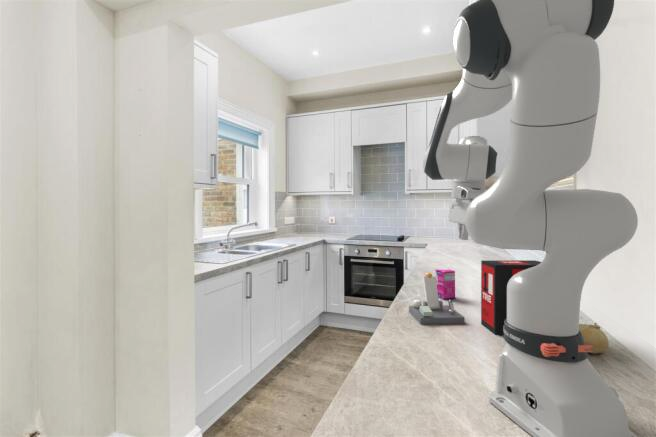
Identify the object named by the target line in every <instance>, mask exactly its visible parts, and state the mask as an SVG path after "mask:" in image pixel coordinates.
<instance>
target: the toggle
mask: <svg viewBox="0 0 656 437" xmlns="http://www.w3.org/2000/svg"><path fill="white" fill-rule="evenodd" d="M448 306H449V313H456V311H457V310H456V309H455V306H454V302H453V299H448Z"/></svg>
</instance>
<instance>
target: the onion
mask: <svg viewBox="0 0 656 437" xmlns="http://www.w3.org/2000/svg"><path fill="white" fill-rule="evenodd" d="M579 330H580V331H581V333H582V336H583V339H584V342H585V345H592V346H593V347H591V348H588V349H587V350H591V351H593V352H588V354H593V355H598V354H602V353H605V352H606V351H607V350H608V349H609V345H610V342H609V339H608V336H607V335H606V333H605V332H603V331H602V329H601V326H600V325H598V324H597V322H594V324H586V323H579Z"/></svg>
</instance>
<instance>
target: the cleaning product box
mask: <svg viewBox="0 0 656 437" xmlns="http://www.w3.org/2000/svg"><path fill="white" fill-rule="evenodd" d="M541 262H542V261H539V260H533V259H531V260H527V259H526V260H524V259H523V260H518V259H517V260H481V262H480V263H481V264H480V265H481V266H480V268H481V269H480V270H481V274H480V276H481V279H480V281H481V282H480V283H481V284H480V287H481V289H480V290H481V291H480V294H481V295H480V298H481V299H480V301H481V302H480V305H481V306H480V307H481V308H480V313H481V314H480V316H481V317H480V319H481V320H480V325H481V326H483V327H485V329H486V330H488V331H489V332H491V333H492V334H494V335H495V336H504V331H503V327H504V321H505V319H507V284H508V282H509V280H510V278H511V277H512V276H513V275H515V274H517V273H518V272H520V271H523V270H525V269H528V268H531V267H534V266H537V265H539V264H540V263H541Z"/></svg>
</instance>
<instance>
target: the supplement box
mask: <svg viewBox="0 0 656 437" xmlns="http://www.w3.org/2000/svg"><path fill="white" fill-rule="evenodd" d="M434 277H435V278H436V285H437V292H438V299H441V300H444V301H447V299H448V300H456V271H455V270H453V269H449V268H437V269H434Z"/></svg>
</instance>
